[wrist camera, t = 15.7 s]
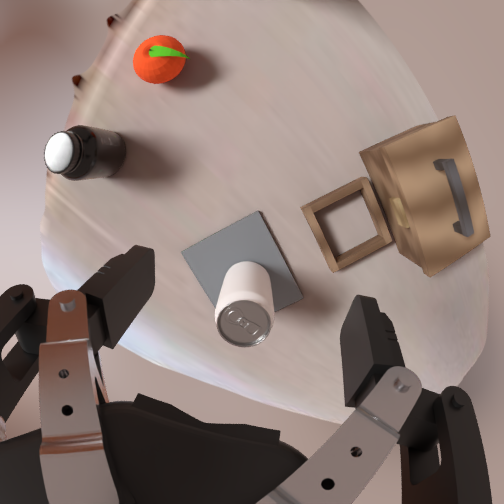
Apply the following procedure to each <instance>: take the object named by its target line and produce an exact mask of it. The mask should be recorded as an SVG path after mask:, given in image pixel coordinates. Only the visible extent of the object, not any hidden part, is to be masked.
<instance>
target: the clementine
mask: <svg viewBox="0 0 504 504" xmlns="http://www.w3.org/2000/svg"><path fill="white" fill-rule="evenodd" d="M186 58H188V59H190V58H189V57H187V56H186V55H185V50H184V48H183V46H182V44H181V43H180V42H179V41H178V40H176V39H175V38H173V37H170V36H164V35H159V36H154V37H151V38H149V39H147V40H145V41H144V42H143V43H142V44H141V45H140V46H139V47H138V48H137V50H136V52H135V54H134V58H133V66H134V70H135V72H136V74H137V75H138V76H139V77H140V78H141V79H142V80H144V81H146V82H149V83H154V84H159V83H164V82H167V81H170V80H171V79H173V78H175V77H176V76H177V75H178V74H179V73H180V72H181V70H182V69H183V67H184V64H185V60H186Z"/></svg>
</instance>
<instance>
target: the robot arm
mask: <svg viewBox="0 0 504 504" xmlns="http://www.w3.org/2000/svg"><path fill="white" fill-rule="evenodd" d="M154 286H155V254H154V250H153V249H151V248H147V247H143V246H138V245H134V246H133V247H132V248H131V249H130V250H129V251H128V252H127V253H126V254H120V255H118V256H116V257H114V258H111V259H110V260H109V261H108V262H107V263H106V264H105V265H104V267H101V268H100V269H99V270H98V272H96V273H95V274H94V275H93V276H92V277H91V278H90V279H89V280H88V281H86V282H85V283H84V284H83V285H82V286H81V287H80V288H79V289H78V290H64V291H61V292H59V293H57V294H55V295H54V296H53V297H52V298H51V300H48V299H39V298H35V295H34V292H33V289H32V288H31V287H30V286H28V285H25V284H22V285H21V284H20V285H16V286H13V287H11V288H9V289H8V290H6V291H5V292H4V293H3V294H2V295H1V296H0V504H352V503H353V501H354V500H355V499H356V498H357V497H358V495H359V494H360V493H361V492H362V490H363V489H364V488H365V487H366V485H367V484H368V483H369V481H370V480H371V479H372V478H373V476H374V475H375V473H376V472H377V471H378V469H379V468H380V466H381V465H382V464H383V462H384V461H385V459H386V458H387V456H388V455H389V453H390V452H391V450H392V449H393V447H394V446H395V444H396V443H397V444H400V454H401V476H402V504H492V497H491V489H490V482H489V475H488V469H487V463H486V458H485V454H484V449H483V444H482V439H481V435H480V431H479V427H478V423H477V419H476V415H475V412H474V409H473V405H472V402H471V399H470V397H469V396H468V394H467V393H466V392H465V391H464V390H462V389H461V388H459V387H456V386H449V387H446V388H445V389H444V390H443V391H442V393H441V394H437V393H435V392H432V391H429V390H426V389H424V388H422V385H421V381H420V379H419V378H418V376H417V375H416V374H415V373H414V372H412V371H411V370H409V369H407V368H406V367H405V364H404V360H403V356H402V353H401V349H400V346H399V343H398V342H397V340H398V339H397V336H396V334H395V330H394V327H393V323H392V321H391V320H390V319H389V318H388V316H387V315H386V314H385V313H383V312H380V310H379V307H378V304H377V300H376V299H375V298H372V297H367V296H362V295H356V296H355V298H354V300H353V302H352V305H351V307H350V309H349V312H348V314H347V316H346V319H345V321H344V323H343V326H342V329H341V333H340V345H341V356H342V368H343V382H344V398H345V407H355V408H356V410H355V411H354V412H353V413H352V414H351V415H350V416H349V418H348V419H347V420H346V421H345V422H344V423H343V424H342V425H341V426H340V428H339V429H338V430H337V431H336V432H335V433H334V434H333V435H332V436H331V437H330V438H329V439H328V440H327V442H326V443H324V445H322V446H321V448H319V449H318V450H317V451H316V452H315V453H314V454H313V455H312V456H311V457H310V458H309V459H307V457H306V456H304V455H303V454H302V453H301V452H299V451H298V450H297V449H295V448H294V447H292V446H290V445H288V444H286V443H284V442H282V441H280V440H279V438H280V431H279V430H273V429H267V428H262V427H256V426H251V425H247V424H213V423H212V424H211V423H204V422H201V421H199V420H198V419H195V418H194V417H192V416H190V415H188V414H186V413H185V412H183V411H181V410H179V409H178V408H176V407H174V406H173V405H171V404H168V403H164V402H162V401H159V400H156V399H153V398H150V397H147V396H145V395H142V394H139V393H138V395H137V397H136V398H135V400H134V402H131V401H115V402H109V399H108V395H107V391H106V386H105V382H104V376H103V371H102V365H101V359H100V354H99V349H100V348H101V347H102V345H104V346H106V347H108V348H111V349H114V347H115V346H116V344H117V343H118V341H119V340H120V338H121V337H122V336H123V334H124V333H125V331H126V330H127V329H128V327H129V326H130V324H131V323H132V322H133V320H134V319H135V317H136V316H137V315H138V313H139V312H140V310H141V309H142V308H143V306H144V305H145V304H146V302H147V301H148V300H149V298H150V297H151V295H152V293H153V290H154ZM14 334H16V337H17V339H18V342H17V343H16V345H15V346H14V347H13V348H12V349H11V351H10V352H9V353H8V355H7V356H6V357H5V358H4V360H3V361H2V358H1V352H2V349H3V347H4V346H5V344H6V343H7V342H8V341H9V340H10V338H11V337H12V336H13V335H14ZM38 372H39V403H40V420H41V428H40V429H37V430H34V431H31V432H29V433H26V434H23V435H20V436H17V437H14V438H11V439H8V440H7V436H6V434H5V432H6V425H5V423H6V421H7V419H8V418H9V416H10V414H11V413H12V411H13V410H14V408H15V406H16V405H17V403H18V402H19V400H20V398H21V397H22V395H23V394H24V392H25V391H26V389H27V388H28V386H29V385H30V383H31V382H32V380H33V379H34V377H35V376H36V374H37V373H38ZM438 443H439V444H440V451H441V465H440V464H439V457H438V448H437V444H438Z"/></svg>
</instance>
